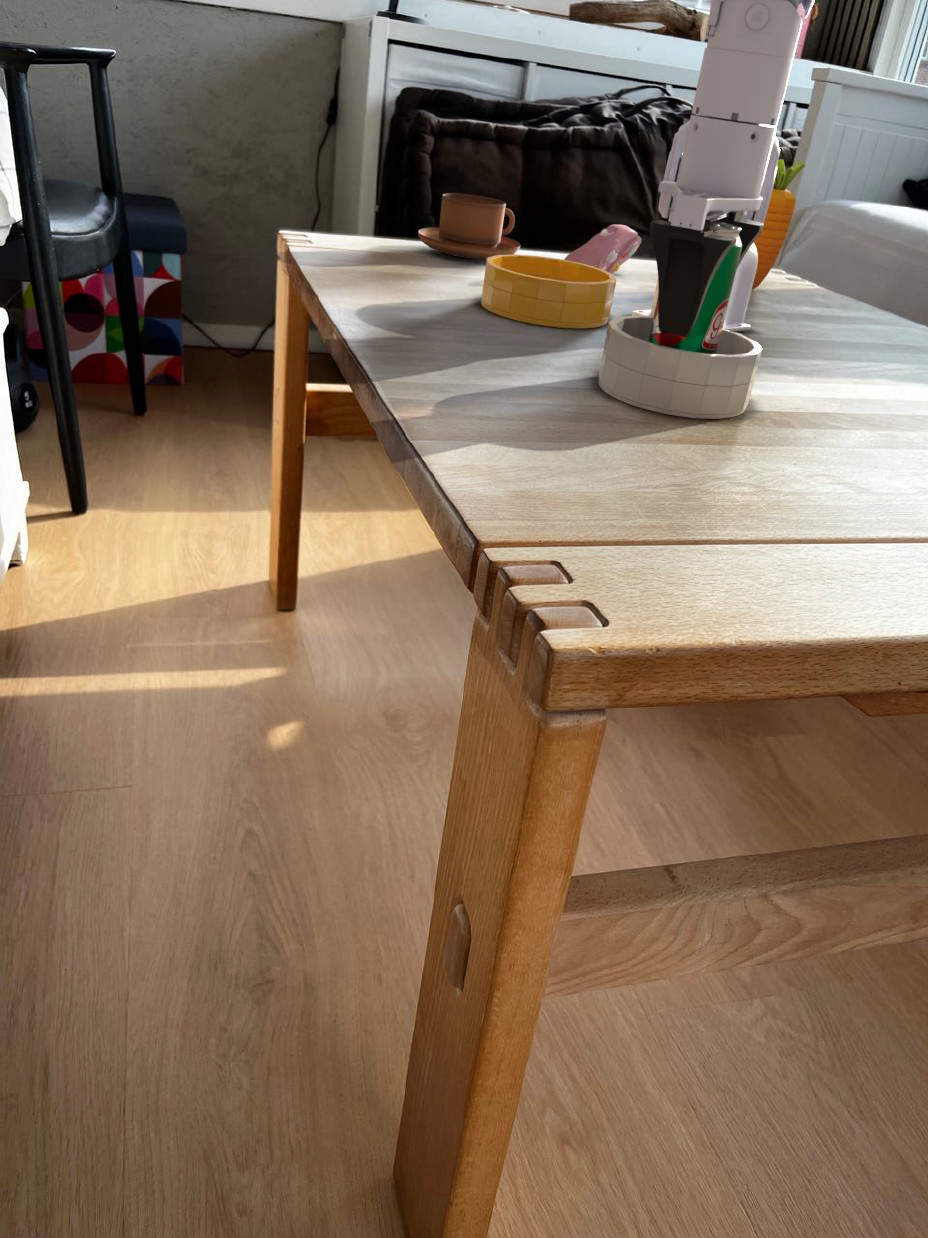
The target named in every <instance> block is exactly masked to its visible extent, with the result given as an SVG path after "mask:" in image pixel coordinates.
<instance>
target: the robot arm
mask: <svg viewBox="0 0 928 1238" xmlns="http://www.w3.org/2000/svg"><path fill="white" fill-rule="evenodd" d="M814 3H815V0H710V5H709V6H710V8H709V15H708V20H707V25H706V31H705V35H706V39H707V44H706V47H704V51H703V56H702V60H701V65H700V71H699V76H698V80H697V85H696V91H695V94H694V99H693V104H692V109H691V114H690V118H689V120H688V121H687V122H685V123H683V124H682V125H681V126H680V127H679V128H678V131H677V132H676V133H674V137H673V140H672V145H671V149H670V151H669V154H668V158H667V162H666V166H665V171H664V176H663V180H662V181H659V185H658V191H657V192H658V193H660V194H659V195H660V196H659V201H658V209H657V210H658V212H659V213H660V215H661V218H664V219H668V220H663V219H655V220H652V221H651V222H650V226H649V237H650V241H651V243H652V247H653V251H654V255H655V262H656V269H657V280H656V285H655V291H654V295H653V300H652V304H651V308H649V309H640V310H639V309H638V310H632V311H631V316H634V315H641V316H654V313H655V308H656V303H657V298H658V323H659V331H662V332H666V333H670V334H675V335H679V336H684V337H687V336H689V334H690V332H691V330H692V329H693V327H694V324H695V322H696V320H697V317H698V315H699V312H700V310H701V307H702V304H703V301H704V298H705V296H706V293H707V290H708V288H709V286H710V283H711V281H712V279H713V277H714V275H715V273H716V271H717V269H718V267H719V266H720V264H721V262H722V261H723V259H724V258H725V256H726V255H727V253H728V252H729V250H730V249H731V248H732V246H733V245H734V244H735V243H736V241H737V239H736V238H731V237H725V236H720V235H715V234H712V233H713V230H712V229H710V224H711V222H713V221H718V222H723V223H728V224H731V225H735V226H737V227H739V228H741V231H740V232H739V236H740V239H741V242H742V245H743V246H742V250H741V254H740V258H739V262H738V266H737V271H736V275H735V279H734V283H733V287H732V291H731V295H730V299H729V303H728V307H727V312H726V316H725V320H724V324H723V329H727V330H730V331H733V332H742V331H749V330H750V329H751V325H750V324H749V323H745V318H746V313H747V309H748V305H749V301H750V298H751V297H750V296H751V292H752V285H753V281H754V277H755V274H756V270H757V264H758V255H757V250H756V246H755V244H754V241H755V240H756V239H757V237H758V236H759V235H760V234H761V232H762V231H763V227H764V221H765V217H766V214H767V210H768V206H769V203H770V199H771V194H772V190H773V186H774V181H775V177H776V171H777V167H776V166H777V162H778V160H779V158H780V153H781V149H780V147H779V140H778V138H777V136H776V131H777V126H778V123H779V119H780V115H781V111H782V107H783V103H784V98H785V94H786V90H787V86H788V82H789V79H790V74H791V70H792V66H793V61H794V57H795V53H796V50H797V45H798V41H799V38H800V34H801V30H802V25H803V20H802V18H801V16H800V14H799V12H798V8H799V5H801V6H802V9H803V10H804V18H805V19H807V18H808V16H809V14H810V11H811V10H812V7H813V5H814ZM709 229H710V230H709Z"/></svg>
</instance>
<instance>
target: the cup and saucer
mask: <svg viewBox="0 0 928 1238" xmlns="http://www.w3.org/2000/svg"><path fill="white" fill-rule="evenodd" d="M506 206H507V203H506V201H503V200H500V199H496V198H492V197H489V196H488V197H487V196H482V195H475V194H469V193H468V194H467V193H457V192H456V193H454V192H453V193H452V192H450V193H443V194H442V196H441V205H440V217H439V226H438V227H424V228H421V229H418V232H417V235H418V238H419V239H420V240H421V242H422V243H423V244H424V245H425V246H427V247H429V248H431V249H432V250H435V251H437V252H440V253H443V254H446V255H450V256H453V257H458V258H464V259H472V260H487V258H488V257H492V256H496V255H513V254H515V255H516V253H517V252H519V250H520V249H521V243H520V242H518V241H517V240H515V239H513V238H509V237H507V236H506V235H509V234H510V233H511V232H512V230H513V229H514V227H515V222H516V221H515V220H516V219H515V214H514V212H513V211H512V210H511V209H510V208H507V207H506ZM505 215H506V216H508V218H509V219H508V220H509V223H508V226H507V227H506V228H504V229H503V226H504V219H505V218H504V217H505Z"/></svg>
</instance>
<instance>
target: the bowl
mask: <svg viewBox="0 0 928 1238" xmlns="http://www.w3.org/2000/svg"><path fill="white" fill-rule="evenodd" d="M616 283H617V278H616V276H615V275H614V273H613V274H611V273H609V272H607V271H605V270H603V269H600V268H596V267H593V266H589V265H586V264H582V263H577V262H572V261H567V260H564V259H563V258H562V259H561V258H556V257H555V258H554V257H547V256H541V255H531V254H530V255H529V254H516V253H515V254H513V255H496V256H492V257H488V258H487V259H486V263H485V270H484V278H483V285H482V286H483V287H482V294H481V301H480V304H481V306H482V307H483V308H484V309H485V310H486V311H489V312H491V313H492V314H494V315H498V316H500V317H503V318H506V319H510V320H513V321H517V322H521V323H526V324H530V325H531V324H532V325H536V326H543V327H551V328H561V329H593V328H599V327H602V326H605V325H606V324H607V323H608V322H609V318H610V315H611V310H612V307H613V306H612V305H613V300H614V294H615V289H616Z"/></svg>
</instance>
